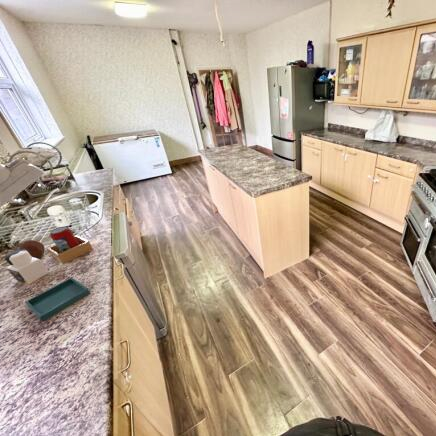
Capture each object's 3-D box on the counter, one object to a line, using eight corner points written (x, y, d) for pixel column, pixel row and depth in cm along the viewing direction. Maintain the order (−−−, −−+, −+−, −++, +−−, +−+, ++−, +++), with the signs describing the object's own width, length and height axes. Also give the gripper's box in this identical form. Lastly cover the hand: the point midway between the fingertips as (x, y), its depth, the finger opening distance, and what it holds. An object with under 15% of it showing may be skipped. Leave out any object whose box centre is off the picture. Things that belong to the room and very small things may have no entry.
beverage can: (59, 255, 104) (43, 233, 99) (74, 246, 110) (60, 225, 104) (70, 257, 103) (55, 234, 97) (85, 248, 109) (72, 226, 103)
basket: (62, 263, 100) (57, 255, 98) (52, 256, 105) (46, 248, 103) (93, 249, 108) (88, 241, 106) (82, 242, 114) (77, 235, 111)
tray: (42, 321, 74) (39, 317, 73) (27, 306, 80) (24, 301, 79) (90, 293, 84) (87, 288, 83) (74, 281, 90) (71, 276, 89)
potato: (25, 265, 100) (13, 250, 96) (24, 254, 107) (13, 240, 103) (49, 257, 105) (38, 242, 101) (47, 247, 112) (37, 233, 108)
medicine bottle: (17, 281, 91) (-4, 257, 86) (39, 269, 97) (21, 246, 91) (28, 285, 89) (8, 260, 83) (50, 272, 95) (32, 248, 89)
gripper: (17, 152, 92) (53, 175, 104) (-37, 189, 85) (8, 209, 97) (22, 158, 89) (59, 180, 101) (-32, 197, 83) (14, 215, 95)
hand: (34, 194), depth 99 cm, fingers open, 8 cm apart
